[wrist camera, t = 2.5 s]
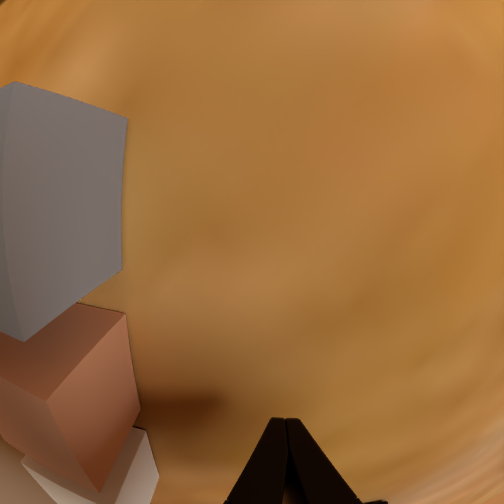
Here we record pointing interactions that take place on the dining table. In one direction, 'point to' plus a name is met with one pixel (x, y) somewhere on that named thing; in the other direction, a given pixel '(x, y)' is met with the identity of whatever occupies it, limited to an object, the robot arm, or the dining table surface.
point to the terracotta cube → (70, 393)
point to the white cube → (117, 483)
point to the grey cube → (56, 204)
